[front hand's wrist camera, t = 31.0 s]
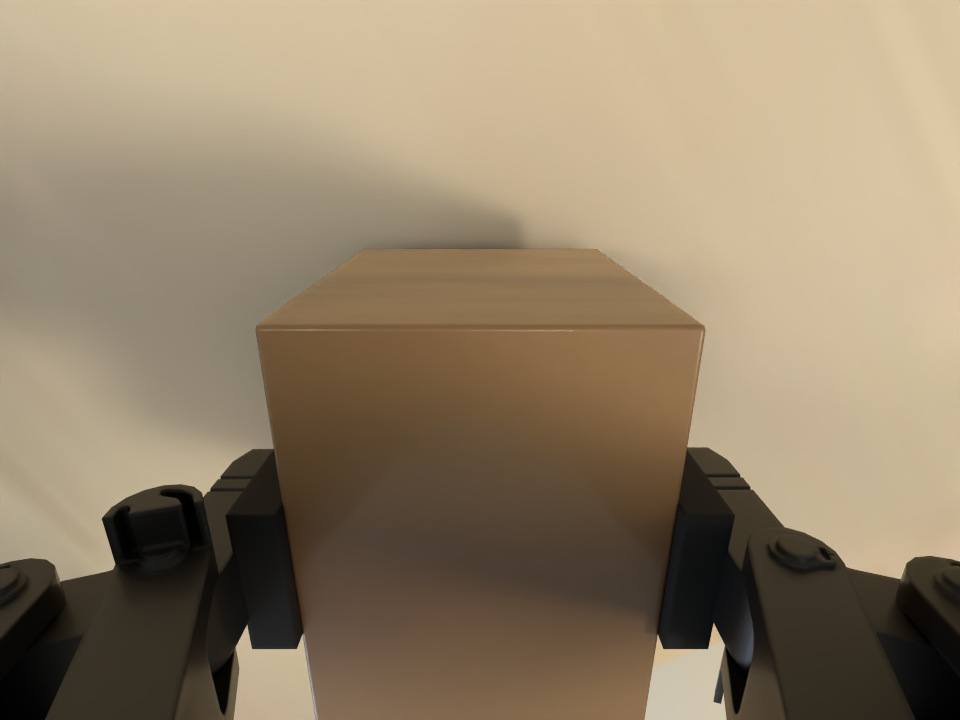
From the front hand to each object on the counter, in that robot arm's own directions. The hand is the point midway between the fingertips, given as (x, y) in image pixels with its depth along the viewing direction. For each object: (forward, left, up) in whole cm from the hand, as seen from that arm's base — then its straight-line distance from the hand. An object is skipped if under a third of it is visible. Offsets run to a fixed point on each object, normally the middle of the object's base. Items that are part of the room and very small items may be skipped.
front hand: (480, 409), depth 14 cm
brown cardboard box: (0, 0, -1) cm, 1 cm away
